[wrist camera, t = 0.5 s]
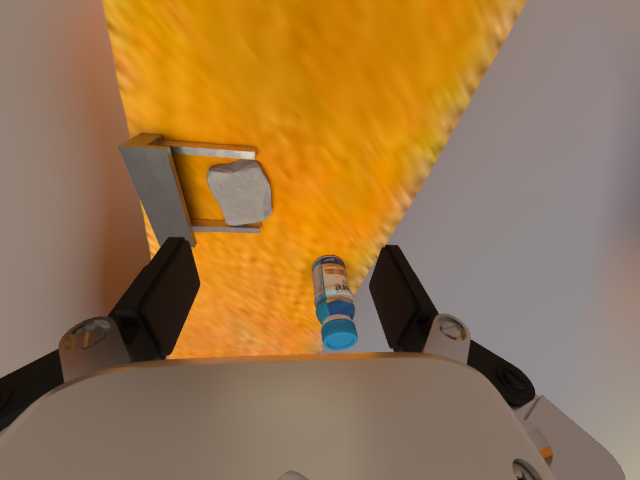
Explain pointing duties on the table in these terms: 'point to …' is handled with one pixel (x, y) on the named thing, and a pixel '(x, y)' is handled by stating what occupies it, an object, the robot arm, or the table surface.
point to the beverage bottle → (334, 303)
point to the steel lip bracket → (174, 184)
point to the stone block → (241, 191)
